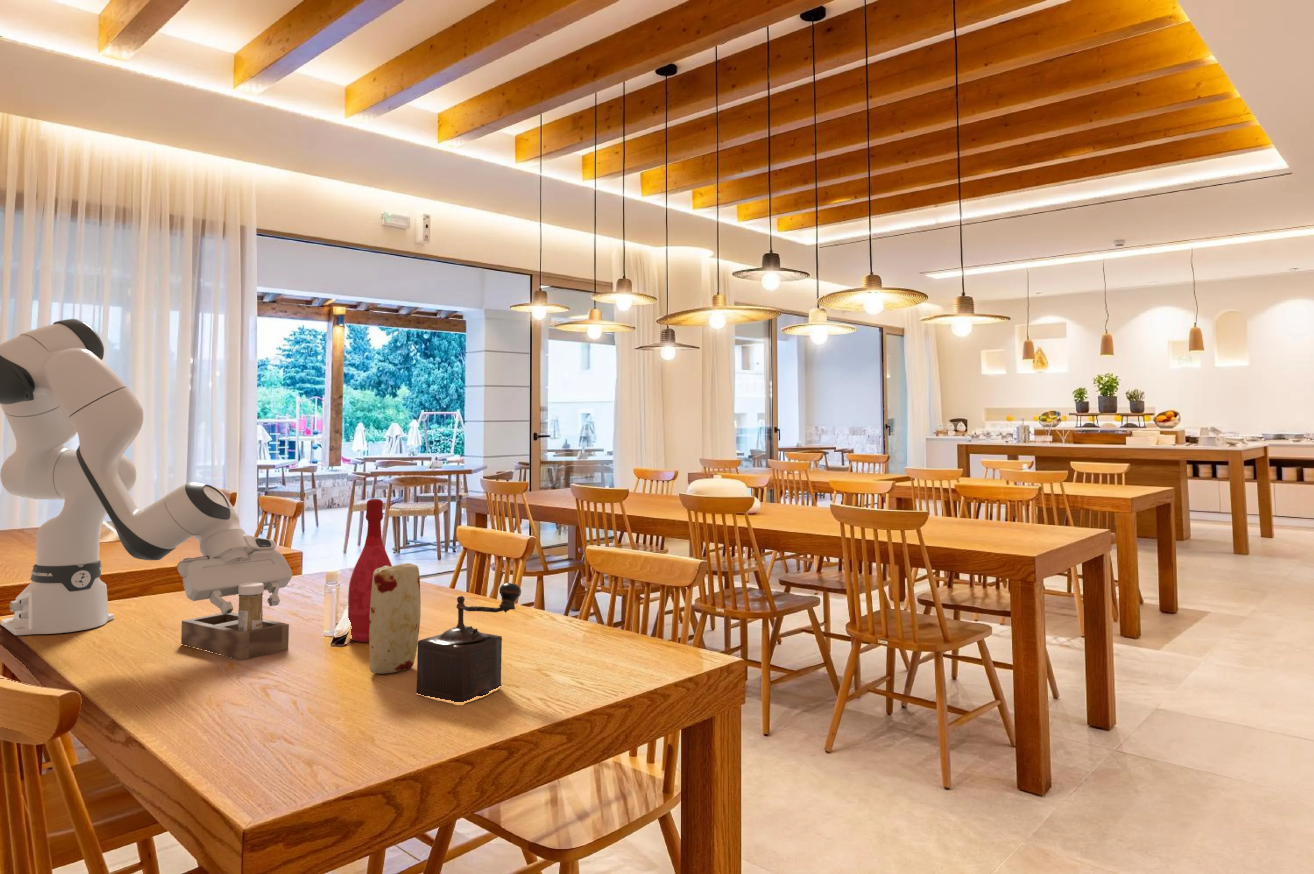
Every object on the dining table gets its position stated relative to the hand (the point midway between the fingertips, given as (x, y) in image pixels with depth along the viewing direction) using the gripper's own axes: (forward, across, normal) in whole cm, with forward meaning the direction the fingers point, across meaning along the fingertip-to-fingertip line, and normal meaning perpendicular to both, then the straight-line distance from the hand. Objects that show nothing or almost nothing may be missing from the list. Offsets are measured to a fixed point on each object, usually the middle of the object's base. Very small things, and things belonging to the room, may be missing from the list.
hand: (252, 607), depth 155 cm
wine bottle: (+13, +21, 0) cm, 25 cm away
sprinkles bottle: (+6, 0, +7) cm, 9 cm away
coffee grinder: (+43, +11, -30) cm, 53 cm away
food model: (+29, +9, -17) cm, 35 cm away
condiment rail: (+2, 0, +10) cm, 10 cm away
